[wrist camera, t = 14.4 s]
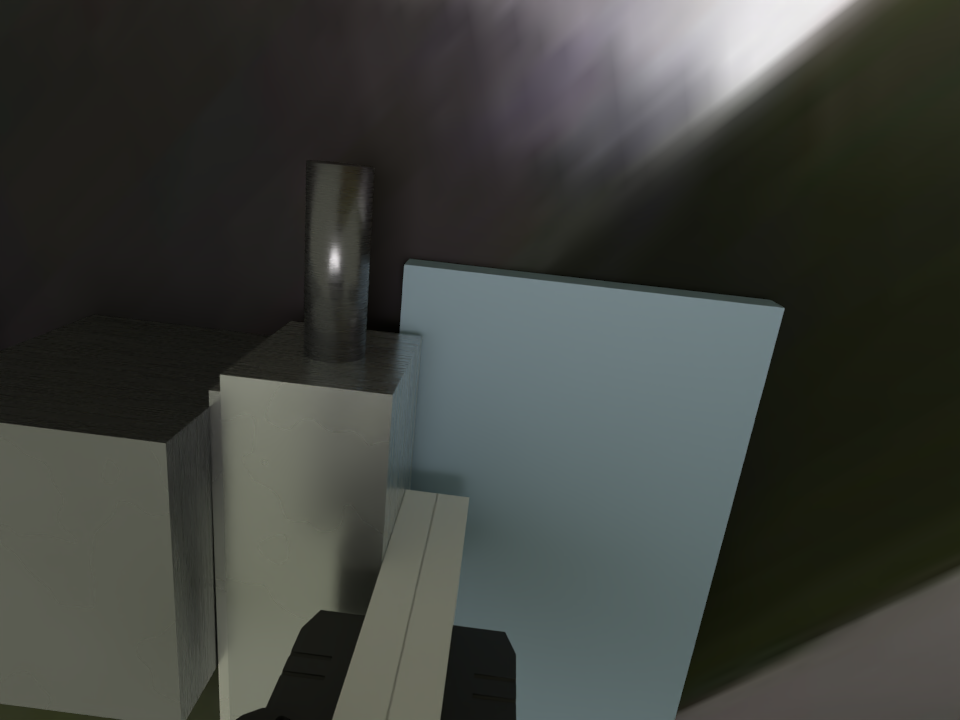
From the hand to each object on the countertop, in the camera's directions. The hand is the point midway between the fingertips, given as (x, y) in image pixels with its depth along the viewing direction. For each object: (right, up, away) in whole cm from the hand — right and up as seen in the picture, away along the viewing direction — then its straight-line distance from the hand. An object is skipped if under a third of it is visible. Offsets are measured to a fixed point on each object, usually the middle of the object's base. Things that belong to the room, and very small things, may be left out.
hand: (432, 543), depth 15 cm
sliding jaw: (-2, +2, 0) cm, 3 cm away
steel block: (-6, +2, +2) cm, 7 cm away
